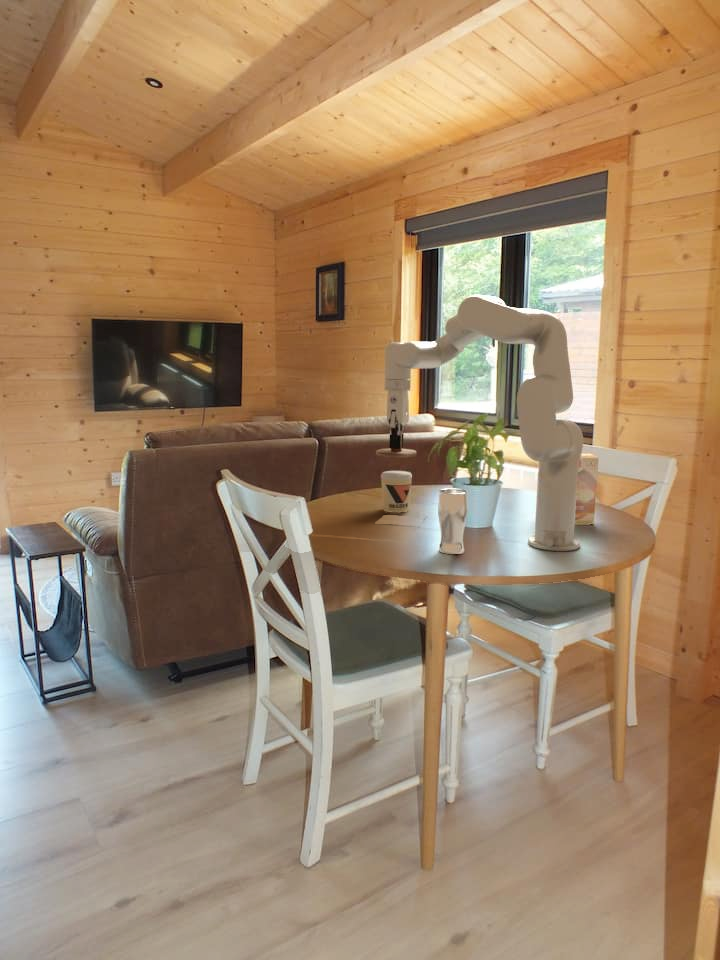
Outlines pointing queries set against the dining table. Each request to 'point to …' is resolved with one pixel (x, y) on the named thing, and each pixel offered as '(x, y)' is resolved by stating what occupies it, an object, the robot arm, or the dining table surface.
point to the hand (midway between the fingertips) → (396, 447)
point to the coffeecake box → (586, 489)
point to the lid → (396, 452)
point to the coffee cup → (396, 490)
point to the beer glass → (452, 519)
